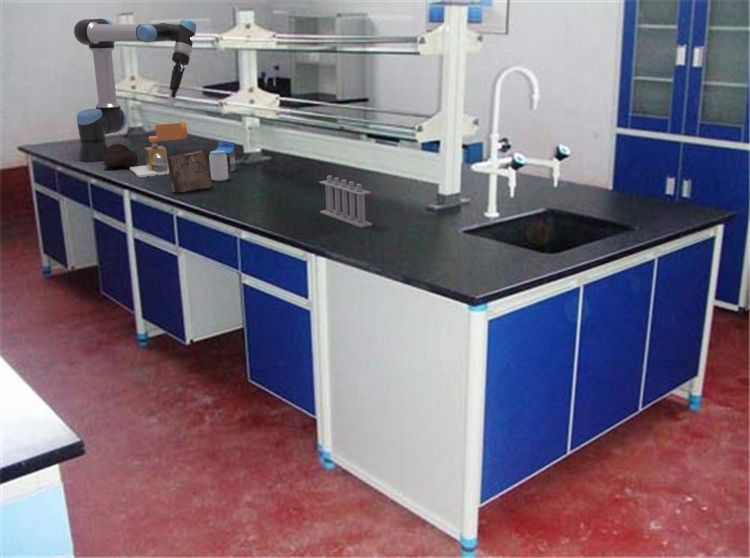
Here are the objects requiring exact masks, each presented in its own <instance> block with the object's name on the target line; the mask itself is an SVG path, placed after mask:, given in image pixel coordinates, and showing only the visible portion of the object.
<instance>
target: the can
mask: <svg viewBox="0 0 750 558" xmlns="http://www.w3.org/2000/svg"><path fill="white" fill-rule="evenodd" d="M208 158H209V168H210V170H209V171H210V178H211V179H210V180H212V181H213V180H214V181H213V182H225V181H227V180H228V179H229V171H228V167H227V156H226V154H225V152H224V151H223V150H216V149H215V150H211V151H210V152H209V155H208Z"/></svg>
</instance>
